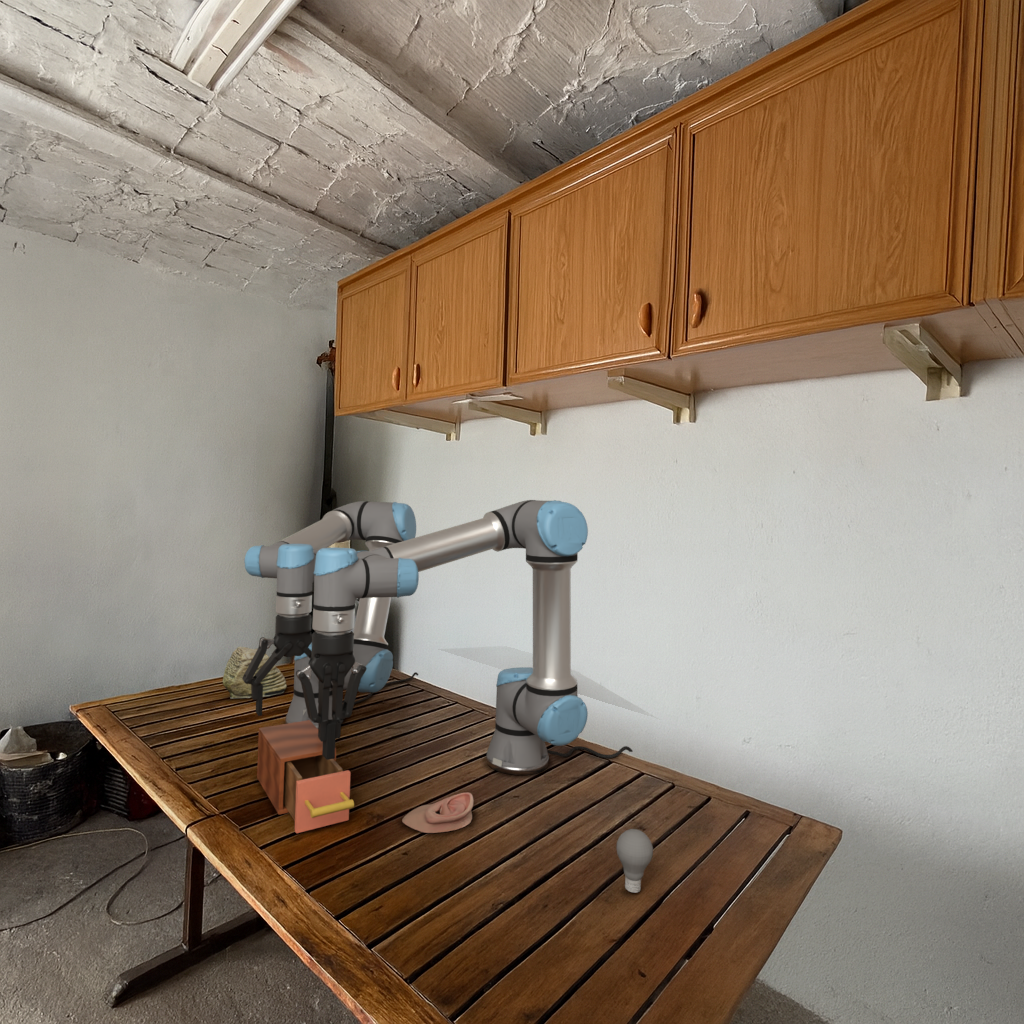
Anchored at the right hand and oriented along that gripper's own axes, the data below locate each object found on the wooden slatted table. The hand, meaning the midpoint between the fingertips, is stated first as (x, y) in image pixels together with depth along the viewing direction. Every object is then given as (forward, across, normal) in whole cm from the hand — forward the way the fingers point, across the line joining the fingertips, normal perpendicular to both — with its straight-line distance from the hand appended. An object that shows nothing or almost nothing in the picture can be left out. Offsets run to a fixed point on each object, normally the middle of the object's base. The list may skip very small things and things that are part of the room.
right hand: (328, 756), depth 118 cm
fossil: (+15, +7, +91) cm, 93 cm away
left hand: (-1, 0, +27) cm, 27 cm away
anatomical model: (+15, +21, -5) cm, 26 cm away
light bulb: (+15, +38, -42) cm, 59 cm away
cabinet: (+15, 0, +22) cm, 26 cm away
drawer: (+14, 0, +8) cm, 16 cm away
